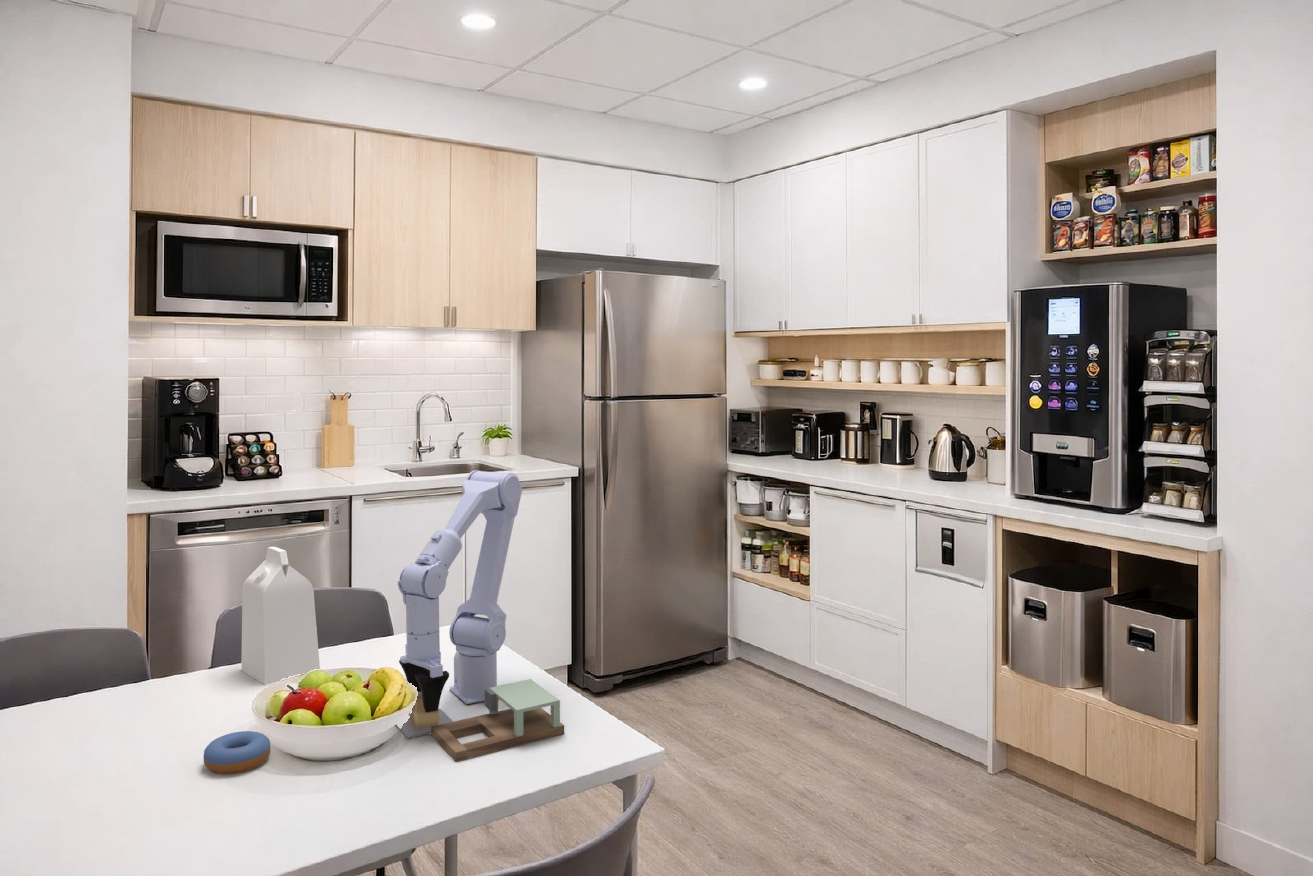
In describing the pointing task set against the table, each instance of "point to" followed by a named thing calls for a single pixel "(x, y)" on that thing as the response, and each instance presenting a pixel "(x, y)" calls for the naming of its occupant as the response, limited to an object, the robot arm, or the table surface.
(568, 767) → the table surface
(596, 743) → the table surface
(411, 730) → the mat
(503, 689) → the cover
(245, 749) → the doughnut
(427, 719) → the block
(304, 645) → the milk
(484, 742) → the board
